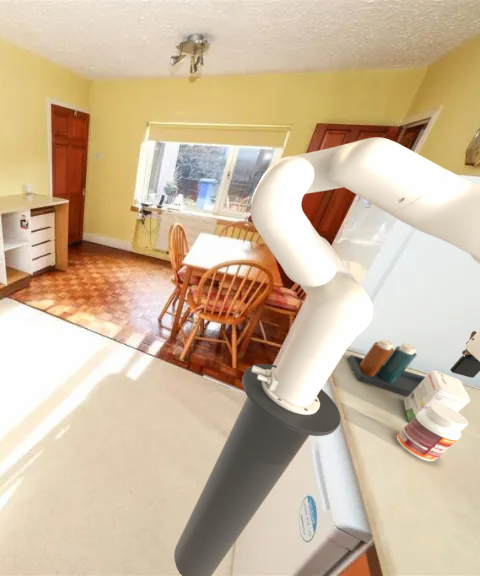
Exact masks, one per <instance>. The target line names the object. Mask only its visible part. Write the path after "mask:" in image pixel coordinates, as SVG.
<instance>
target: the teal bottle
mask: <svg viewBox="0 0 480 576" xmlns="http://www.w3.org/2000/svg"><path fill="white" fill-rule="evenodd" d="M393 350H394V351H393V352H392V354H391V355H390V356H389V358H388V359H387V360H386V362H385V363H384V364H383V366H382V367H381V368H380V370H379V371H378V372H377V376H378V377H379V378H381V379H383V380H385V381H387V382H390V383H394V382H395V381H396V380H397V379H398V378H399V377H400V375H401V374H402V373H403V372H404V371H406V369H408V367H409V365H411V363H412V362H413V361H414V360H415V358H416V357H417V353H416V352H417V351H418V348H417V347H416V346H414V345H412V344H409V343H405V342H404V343H402V344H401V345H400V346H399V345H398V346H396V347H395V348H394V349H393Z"/></svg>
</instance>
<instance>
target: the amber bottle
mask: <svg viewBox="0 0 480 576" xmlns="http://www.w3.org/2000/svg"><path fill="white" fill-rule="evenodd" d="M394 346H395V343H393V342H392V341H391V340H388V339H384V338H381V339H380V340H379V341H375V342H374V343H373V344H372V346H371V347H370V349H369V350H368V351H367V353H366V354H365V356H364V357H363V358H364V359H363V360H362V362H361V363H360V365H359V367H360V369H361V371H362V373H363V374H365V375H368V376H375V375H376V374H377V372H378V371H379V370H380V368H381V367H382V366H383V364H384V363H385V362H386V360H387V359H388V358H389V356H390V355H391V354H392V352H393V351H394V349H393V348H394Z"/></svg>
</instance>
